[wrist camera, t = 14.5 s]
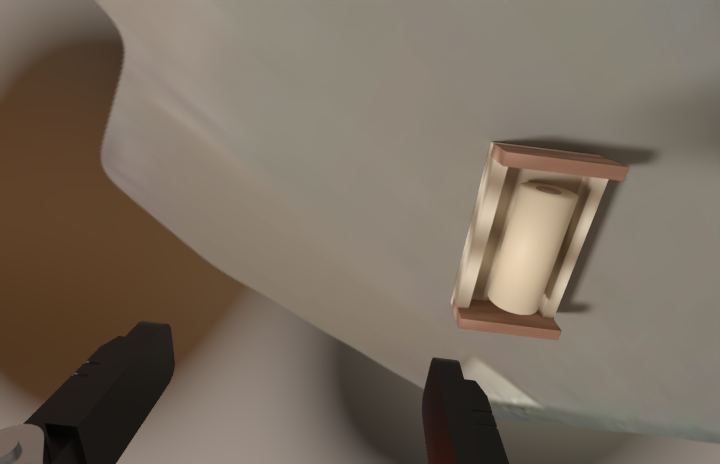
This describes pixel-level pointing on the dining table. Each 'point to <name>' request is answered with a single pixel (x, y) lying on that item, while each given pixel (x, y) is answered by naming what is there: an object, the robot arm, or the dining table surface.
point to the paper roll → (531, 246)
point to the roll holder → (490, 225)
